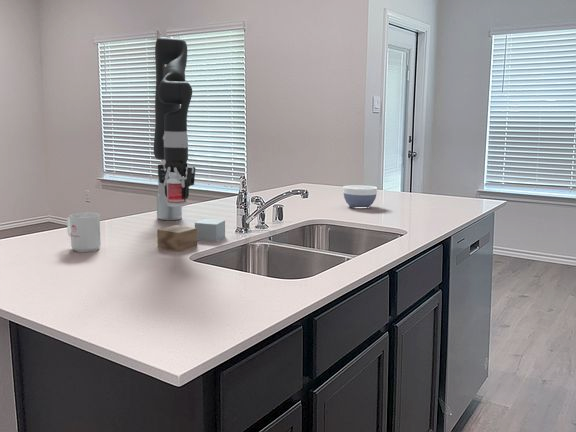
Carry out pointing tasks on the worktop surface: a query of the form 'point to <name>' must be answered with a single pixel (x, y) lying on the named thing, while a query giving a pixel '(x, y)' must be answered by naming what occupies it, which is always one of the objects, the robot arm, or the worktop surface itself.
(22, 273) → the worktop surface
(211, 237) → the grey block
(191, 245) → the walnut block
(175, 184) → the pill bottle
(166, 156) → the robot arm
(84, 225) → the mug
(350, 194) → the bowl
